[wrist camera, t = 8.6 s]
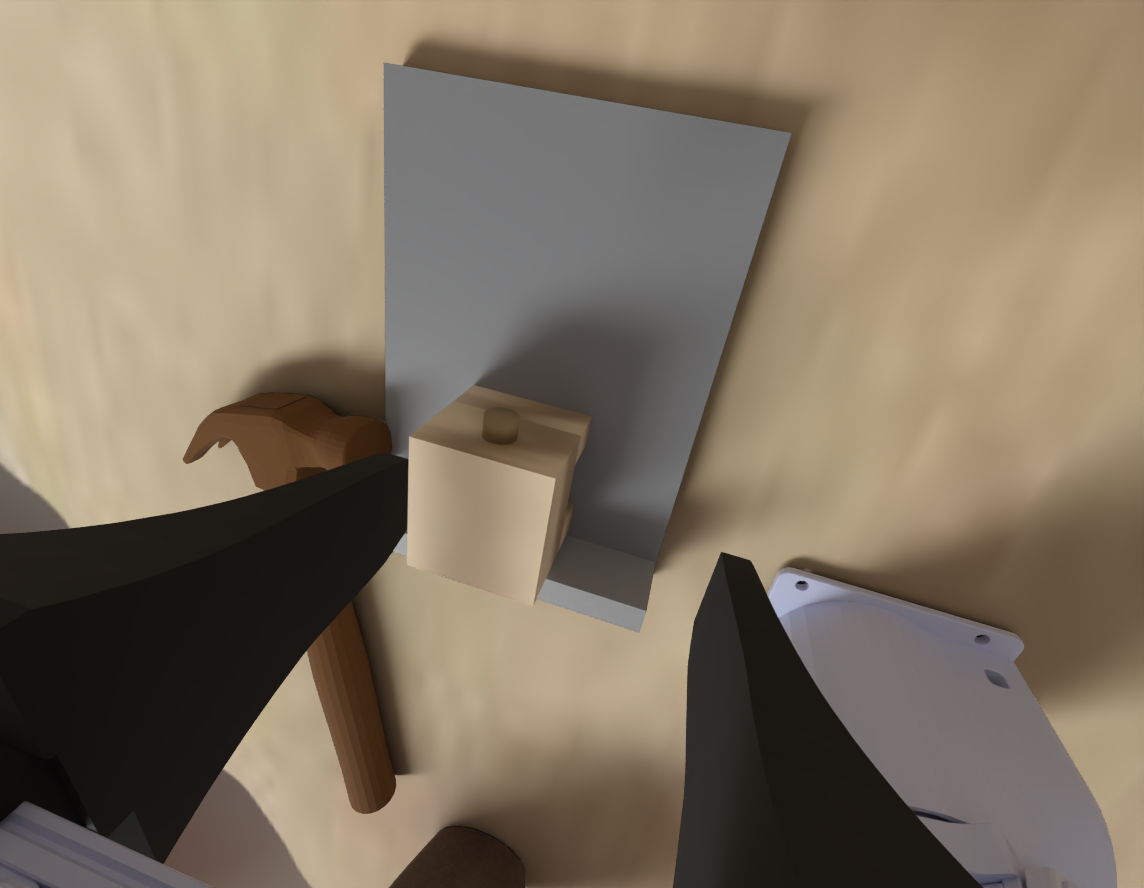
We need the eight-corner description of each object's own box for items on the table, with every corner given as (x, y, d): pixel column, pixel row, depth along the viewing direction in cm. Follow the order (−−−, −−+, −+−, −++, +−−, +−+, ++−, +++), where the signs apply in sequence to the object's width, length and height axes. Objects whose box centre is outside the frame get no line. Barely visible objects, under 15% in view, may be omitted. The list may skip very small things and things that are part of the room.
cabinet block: (595, 397, 20) (559, 456, 16) (569, 527, 23) (532, 606, 19) (475, 366, 21) (409, 414, 17) (464, 495, 24) (406, 564, 20)
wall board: (788, 135, 16) (804, 122, 13) (649, 577, 25) (636, 642, 21) (400, 68, 18) (321, 40, 14) (397, 499, 27) (347, 546, 23)
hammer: (438, 798, 37) (391, 410, 23) (409, 844, 35) (335, 439, 21) (315, 729, 41) (211, 362, 27) (280, 765, 39) (145, 381, 25)
